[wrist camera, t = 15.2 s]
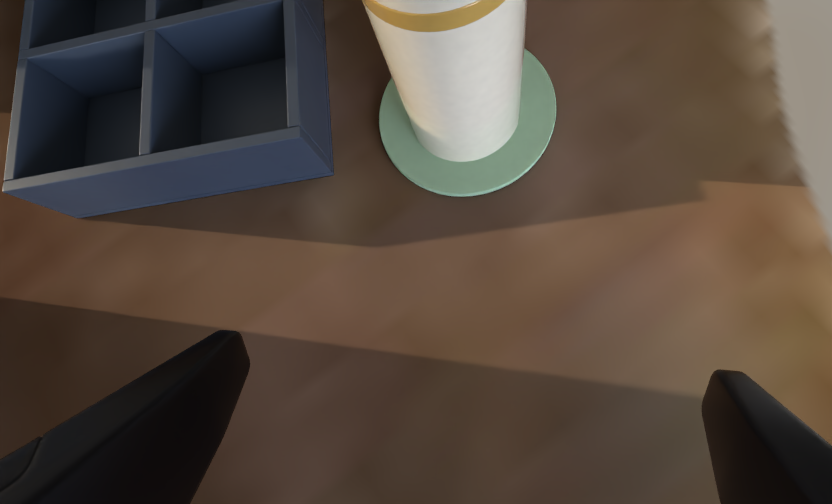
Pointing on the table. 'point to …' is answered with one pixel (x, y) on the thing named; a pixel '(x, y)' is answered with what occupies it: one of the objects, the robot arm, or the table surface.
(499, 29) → the pen pot
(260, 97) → the organizer
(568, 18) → the table surface
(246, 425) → the table surface
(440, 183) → the coaster
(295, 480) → the table surface
